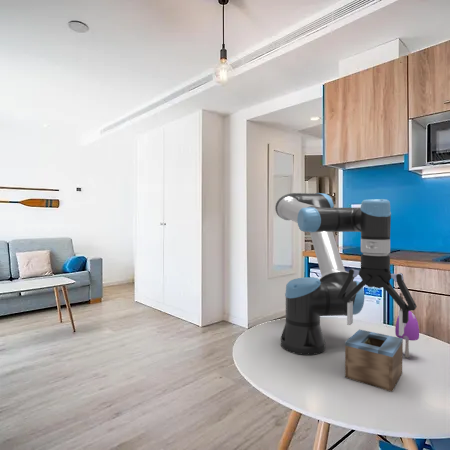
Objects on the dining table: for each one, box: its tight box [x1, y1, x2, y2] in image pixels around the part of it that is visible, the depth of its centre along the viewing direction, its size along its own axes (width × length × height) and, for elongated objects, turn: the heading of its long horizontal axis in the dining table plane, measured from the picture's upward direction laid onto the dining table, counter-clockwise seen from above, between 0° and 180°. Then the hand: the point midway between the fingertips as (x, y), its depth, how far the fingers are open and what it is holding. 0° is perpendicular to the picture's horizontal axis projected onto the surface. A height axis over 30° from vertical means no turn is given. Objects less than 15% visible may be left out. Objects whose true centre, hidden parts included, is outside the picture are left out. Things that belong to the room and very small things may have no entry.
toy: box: [394, 310, 420, 358], centre depth 103 cm, size 7×7×15 cm
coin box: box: [344, 329, 404, 392], centre depth 92 cm, size 12×13×10 cm
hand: (374, 329), depth 91 cm, fingers open, 13 cm apart
